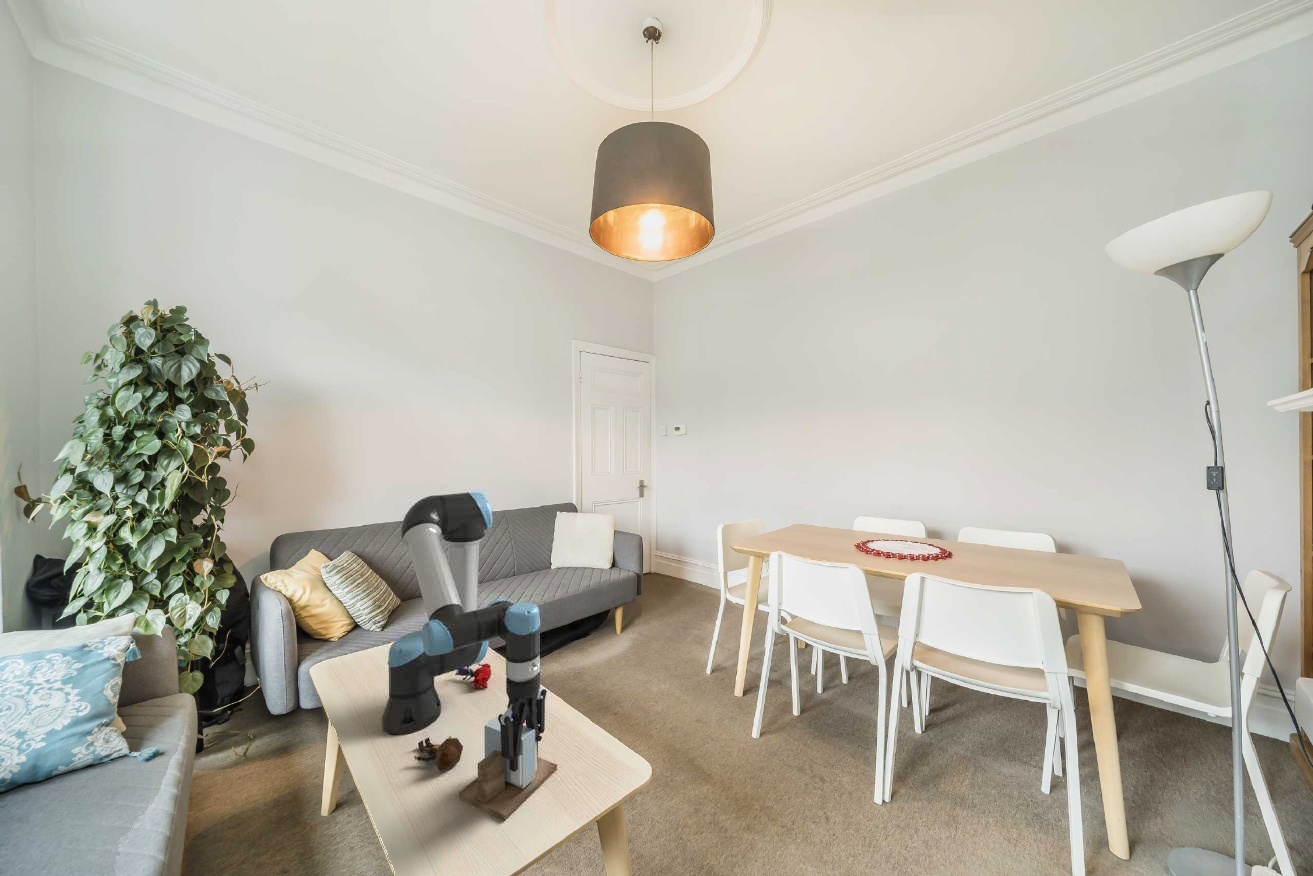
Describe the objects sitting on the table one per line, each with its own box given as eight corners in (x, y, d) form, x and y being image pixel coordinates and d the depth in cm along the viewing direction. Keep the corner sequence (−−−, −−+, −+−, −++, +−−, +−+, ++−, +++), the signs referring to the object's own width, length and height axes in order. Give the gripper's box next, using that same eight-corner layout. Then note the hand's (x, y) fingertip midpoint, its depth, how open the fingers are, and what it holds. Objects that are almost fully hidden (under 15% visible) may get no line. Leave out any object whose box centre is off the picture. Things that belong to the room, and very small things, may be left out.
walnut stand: (458, 798, 105) (458, 757, 105) (514, 752, 120) (513, 716, 120) (504, 821, 98) (504, 777, 98) (557, 769, 113) (556, 731, 113)
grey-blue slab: (484, 771, 110) (484, 725, 110) (497, 760, 113) (497, 716, 113) (523, 788, 104) (522, 740, 104) (535, 777, 108) (535, 730, 108)
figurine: (463, 671, 160) (500, 678, 156) (446, 689, 152) (485, 696, 148) (460, 655, 158) (498, 661, 154) (442, 672, 151) (482, 679, 146)
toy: (440, 722, 126) (469, 730, 117) (443, 750, 125) (473, 761, 116) (403, 740, 119) (431, 750, 110) (406, 771, 118) (435, 783, 109)
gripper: (507, 696, 97) (508, 808, 98) (560, 661, 113) (561, 757, 113) (482, 688, 101) (483, 795, 101) (536, 655, 116) (537, 748, 116)
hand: (524, 775), depth 107 cm, fingers closed on grey-blue slab, 4 cm apart
